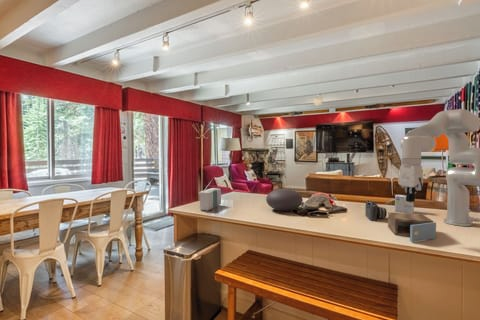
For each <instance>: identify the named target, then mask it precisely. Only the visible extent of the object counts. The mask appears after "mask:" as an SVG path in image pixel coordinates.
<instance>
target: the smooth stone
mask: <svg viewBox="0 0 480 320" xmlns="http://www.w3.org/2000/svg"><path fill="white" fill-rule="evenodd" d="M265 201H266V203H267V205H268V206H269V207H270V208H271V209H274V210H277V211H281V212H290V211H294V210H296V209H298V208H300V206H302V204H303V201H304V200H303V196H302V194H300V193H299V192H298V191H296V190H294V189H290V188H277V189H274V190H272V191H270V192H269V193H268V194H267V195H266V198H265Z"/></svg>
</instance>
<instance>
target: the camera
mask: <svg viewBox="0 0 480 320" xmlns="http://www.w3.org/2000/svg"><path fill="white" fill-rule="evenodd" d="M364 213H365V214H364V215H365V217H366V218H367V219H368V220H369V221H371V222H377V221H378V220H377V219H384V218H387V217H388V211H387V208H385V207H381V206H379V205H378V204H377V203H376V201H371V200H366V201H365V212H364Z"/></svg>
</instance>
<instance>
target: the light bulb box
mask: <svg viewBox="0 0 480 320" xmlns="http://www.w3.org/2000/svg"><path fill="white" fill-rule="evenodd" d="M394 198H395V199H394V213H409V214H414V210H415V208H414V207H415V203H414V202H415V201H414V202H408V201H406V194H395V196H394Z"/></svg>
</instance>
